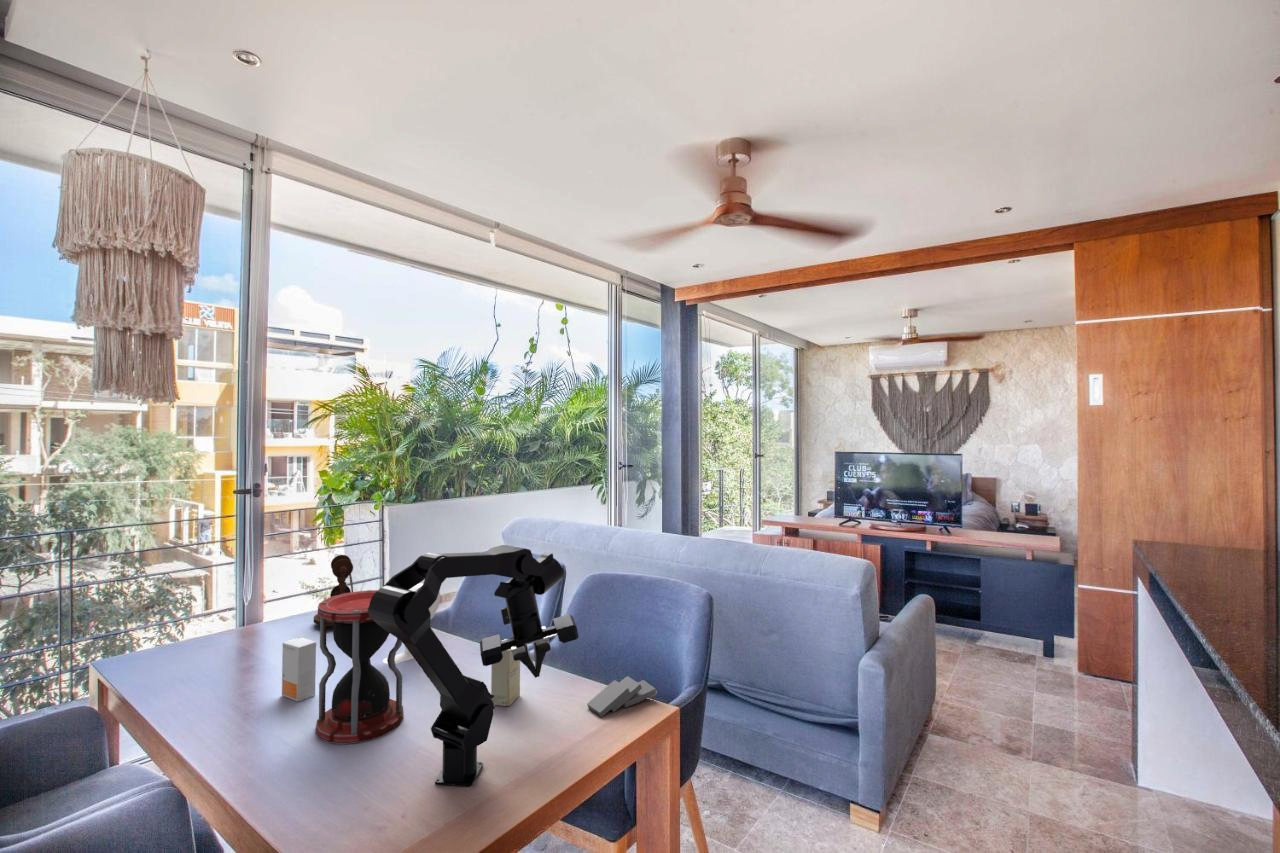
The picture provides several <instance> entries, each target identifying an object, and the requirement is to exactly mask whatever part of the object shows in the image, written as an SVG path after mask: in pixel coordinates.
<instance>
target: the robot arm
mask: <svg viewBox="0 0 1280 853" xmlns="http://www.w3.org/2000/svg"><path fill="white" fill-rule="evenodd" d="M490 575H494V576H495V575H496V576H501V577H505V578H509V579H508V580H507V581H506V582H504V581H500V582H499V584H498V586H497V588H496V589H495V591H494V593H493V595H494V596H495V597H498V598H502V599H505V600H504V601H505V604H506V607H501V608H500V614H501V618H502V622H503V625H504V626H506V625H509V624H510V626H511V627H510V628H511V633H512V637H510V638H505V639H503V640H501V636H500V634H499V633H498V634H494V635H492V636H487V637H484V638H481V640H480V642H479V650H480V657H481V663H482V666H484V667H488V666H492V664H495V663H499V662H500V661H501V660H502V658H503V655H502V651H505V650H509V649H511V651H512V653H513V659H514V661H518V660H520V663H522V664H523V665H524V666H526V668H527V669H528V670H529V672H530V673H531V674H532V676H533V677H534V678H535V679H536V678H539V677H540V676H541V671H542V664H543V661H544V660H545V657H546V653H548V652H550V651H551V650H552V648H551V643H550V639H551V638H555V637H557V638H558V641H559V642H560V643H562V644H566V643H569V642H572V641H573V642H574V641H575V640H578V638H579V633H578V632H579V631H578V628H577V624H576V622H575V619H574V616H573V615H572V614H570V613H568V614H565V615H561V616H559V617H555V618H553V624H554V625H552V626H548V627H546V626H543V625H542V622H541V615H540V612H539V607H538V602H537V596H536V595H539V596H542V595H544V594H545V593H547V592H548V591H549V590H551V589H552V588H553V587H554V586H556V585H557V584H559V583H560V582H561V581H562V580H563V579H564V577H565V576H564V575H565V572H564V568H563V566H562V565H561V563H560V562H559V561H558V560H557V559H556V558H554V554H553V553H552V552H545V551H544V552H543V553H542V554H541V555H540V556H538V557H537V558H535V557H534V556H533V553H532V550H531V549H530V548H525V547H524V548H523V547H519V546H513V545H508V544H507V545H506V544H502V545H498V546H493V547H490V548H489V549H487V550H486V551H480V552H451V553H449V552H448V553H447V552H446V553H445V552H444V553H434V552H425V553H422V554H421V555H419V556H418V557H417V558H416V559H415V560H414V562H412V564H410V565H409V566H408V567H405V568H403V569H402V570H400V571H399V572H398V573H396V574H394V575H392V577H391V578H390V579H389V580H388V581H387V582H386V583H385V584H384V585H383V586H382V587H380V588H378V589H376V590H377V591H376V592H375V594H374V595H373V596H372V598H371V601H370V604H369V607H368V613H369V616H370V618H371V619H372V620H373V621H375V622H376V623H377V624H378V625H379V626H381V627H382V628H383V629H384V630H386V631H387V632H389V633H390V634H389V635H391V636H394V637H395V638H396V639H397V638H398V639H399V640H401V641H402V645H404V647H405V646H406V648H407V649H408V651H409V652H410V653H411V655H412V656H413V657H414V658H413V659H414V661H416V663H417V664H418V666H419V668H420V669H421V670H422V671H423V673H424V674H425V676H426V677H427V678H428V679H429V681H430V682H431V683H432V685H433V686H434V688H435V689H436V690H437V692H438V693H439V696H440V697H439V698H440V700H439V706H440V709H441V711H440V713H439V714H438V716H437V717H436V719H435V720H434V722H433V724H432V725H431V726H430V731H431V734H432V738H433V739H438V740H439V741H442V765H441V766H442V768H441V770H440V772H439V774H438V775H437V777H436V778H435V780H434V784H435V785H436V786H437V785H439V786H440V785H441V786H457V787H458V786H460V787H471V786H473V785H474V784H475V781H476V779H478V776H479V774H480V772H481V771H482V769H483V767H484V762H483V761H478V747H479V746H481V745H482V744H483V743H485V742H487V741H488V737H489V734H490V731H491V730H490V729H491V727H492V721H493V718H494V710H495V705H494V703H493V700H492V698H493V697H494V695H491V693H490V692H489V690H488V687H487V685H486V683H485V682H484V681H482V680H479V679H477V678H473V677H470V676H467V675H464V674H463V673H462V671H461V670H460V668H459V667H458V665H457V664H456V663H455V661H454V660H453V658H452V656H451V655H450V653H449V652H448V651H447V649H446V648H445V646H444V645H443V643H442V641H440V639H439V638H438V636H437V635H436V633H435V632H434V630H433V628H432V626H431V620H432V619H431V613H430V611H429V608H430V607H431V606H432V604H433V603H434V602H435V601H436V599H437V597H438V593H439V590H441V587H442V584H443V583H444V582H445V581H446V579H448V578H449V579H450V578H464V577H465V578H466V577H476V576H478V577H479V576H490ZM421 582H423V585H422V586H421V588H420V589H419V590H418V591H417V592H415V591H411V590H409V589H411V588H412V587H414V586H415V585H417V584H418V583H421ZM530 644H533V652H534V653H533V654H534V655H533V656H534V660H533V658H532V655H531V652H530V650H529V649H530V648H529V645H530Z"/></svg>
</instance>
